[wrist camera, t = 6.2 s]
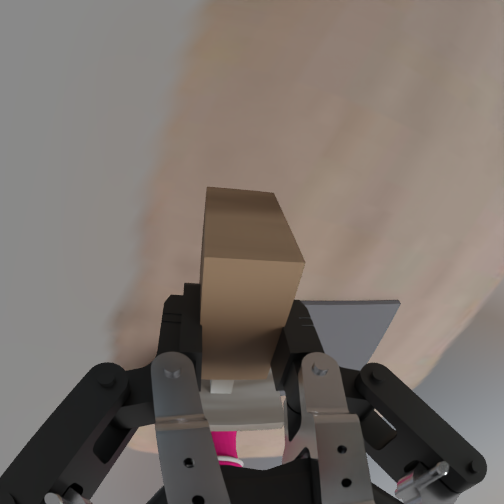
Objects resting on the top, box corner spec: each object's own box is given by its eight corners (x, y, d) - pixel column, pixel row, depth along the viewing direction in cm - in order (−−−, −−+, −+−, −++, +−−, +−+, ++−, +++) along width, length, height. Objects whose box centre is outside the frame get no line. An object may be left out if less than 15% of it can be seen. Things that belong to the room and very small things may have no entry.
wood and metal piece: (156, 183, 12) (127, 252, 7) (319, 198, 13) (367, 266, 9) (164, 361, 18) (160, 429, 14) (268, 363, 19) (281, 428, 15)
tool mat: (298, 300, 28) (300, 304, 27) (398, 300, 30) (400, 303, 29) (268, 392, 36) (268, 396, 35) (349, 385, 38) (350, 388, 37)
